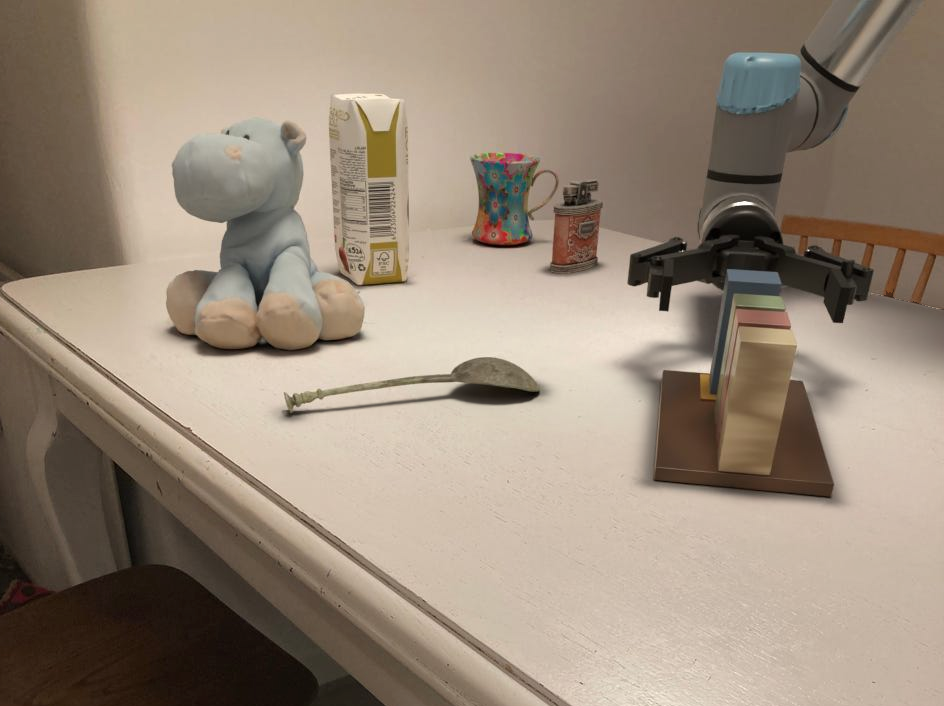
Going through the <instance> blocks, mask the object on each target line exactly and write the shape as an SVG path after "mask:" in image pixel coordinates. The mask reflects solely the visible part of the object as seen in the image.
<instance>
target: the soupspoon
mask: <svg viewBox="0 0 944 706" xmlns="http://www.w3.org/2000/svg"><path fill="white" fill-rule="evenodd" d="M436 383H437V384H439V383H463V384H474V385H475V384H476V385H486V386H493V387H494V386H495V387H502V388H512V389H516V390H517V389H518V390H522V391H527V392H540V391H541V387H540V386H539V384H538V383H537V381H536V380H535V379H534V378H533V377H532V375H530V373H529V372H527V370H525V369H523V368H522V367H520V365H518V364H516V363H513V362H511V361H509V360H506V359H503V358H499V357H492V356H482V357H475V358H472V359H468V360H466V361H463V362H461V363H460V364H458V365H456V366H455V367H454V368H453V369H452V371H450V373H446V374H445V373H443V374H426V375H425V374H424V375H415V376H406V377H398V378H392V379H386V380H379V381H372V382H371V381H370V382H366V383H359V384H353V385H352V384H351V385H346V386H345V385H344V386H341V387H334V388H329V389H323V390H322V389H321V388H317V390H316V391H309V390H307V391H304V392H300V393H297V392H294V393H292V396H290V395H289V394H288V392H286V391H284V392H283V397H284V401H285V404H286V407H287V409H288V411H289V413H290V414H292V413H293V412H294V407H296V408H300V407H301V406H302V405H306V404H310V403H312V402H314V401H315V400H317V399H319V400H321V401H322V400H324V398H326V397H329V396H337V395H343V394H348V393H349V394H350V393H355V392H362V391H371V390H379V389H385V388H393V387H401V386H409V385H418V384H419V385H420V384H436Z"/></svg>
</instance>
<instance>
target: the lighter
mask: <svg viewBox="0 0 944 706" xmlns="http://www.w3.org/2000/svg"><path fill="white" fill-rule="evenodd" d="M599 183H600V182H599V181H598V179H594V178H593V179H587V180H578V179H577V180H576V179H575V180H574V179H572V180H571V181H570V183H569V184H567V185H563V187H562V196H563V201H564V202H560V203H557V204H554V205H553V213H554V223H553V224H554V225H553V239H552V255H551V262H550V263H549V272H552V273H554V274H569V273H570V274H571V273H575V272H580V271H584V270H585V271H586V270H588V269H591V268H593V267H596V266H597V265H598V261H599V257H598V244H599V232H600V221H601V212H602V211H601V210H602V209H603V207H604V206H603V205H604V201H603V200H601V199H595V198H592V193H595V192H598V191H599V186H600V185H599Z"/></svg>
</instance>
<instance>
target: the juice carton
mask: <svg viewBox="0 0 944 706" xmlns="http://www.w3.org/2000/svg"><path fill="white" fill-rule="evenodd" d="M406 111H407V110H406V105H405V99H404V98H390V97H389V96H388V95H385V94H384V93H341V94H340V93H337V94H330V104H329V116H328V136H329V137H328V138H329V139H328V140H329V157H330V160H329V161H330V177H331V199H332V217H333V234H334V235H333V236H334V251H335V256H336V260H337V265H338V269H339V272H340V274H342V275H343V276H344V277H346V278H348V279H349V280H351V281H352V283H354V284H355V285H358V286H365V285H366V286H367V285H378V284H379V285H380V284H390V283H401V282H406V281H407V276H408V271H409V270H408V268H409V259H410V207H409V203H410V202H409V200H410V198H409V191H410V190H409V128H408V118H407V112H406Z"/></svg>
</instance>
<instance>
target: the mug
mask: <svg viewBox="0 0 944 706" xmlns="http://www.w3.org/2000/svg"><path fill="white" fill-rule="evenodd" d="M469 159H470V163H471V165H472V169H473V171H474V175H475V179H476V185H477V190H478V191H477V193H478V210H477V216H476V220H475V223H474V226H473V229H472V231H471V236H472V238H473V239H474V240H476V241H478V242H481V243H483V244H486V245H487V244H488V245H493V246H516V245H521V244H523V243H526V242H528V241H530V240H532V238H533V236H534V235H533V231H532V229H531V225H530V221H529V219H530V220H531V221H534V220H535V217H534V216H533V215H532V213H535V212H536V211H539V210H540V209H541V208H542V209H543V207H545V206H546V205H547V204H548V203H549V202H550V201H551V200H552V198H553V197H554V195H555V193H556V192H557V190H558V188H559V182H560V179H559V178H560V177H559V176H558V174H557V172H556V171H554V170H553V169H551V168H544V169H541V170H539V171H538V172H536V170H537V168H538V166H539V164H540V161H541V158H540V157H539V156H536V155H533V154H526V153H516V152H515V153H514V152H483V153H475V154H472V155H470V157H469ZM535 173H536V174H535ZM545 173H549V174H550V175H553V176H554V178H555V184H554V187H553V189H552V191H551V192H550V194H549V195H548V197H547V198H546V199H545V200H544V201H542V202H541V203H540V204H539V205H537V206H535V207H533V208H532V209H529V208H528V207H529V205H528V204H529V196H530V190H531V187H534V184H535V183H536V180H537V178H538V177H539V176H541V175H543V174H545ZM528 209H529V210H528Z"/></svg>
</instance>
